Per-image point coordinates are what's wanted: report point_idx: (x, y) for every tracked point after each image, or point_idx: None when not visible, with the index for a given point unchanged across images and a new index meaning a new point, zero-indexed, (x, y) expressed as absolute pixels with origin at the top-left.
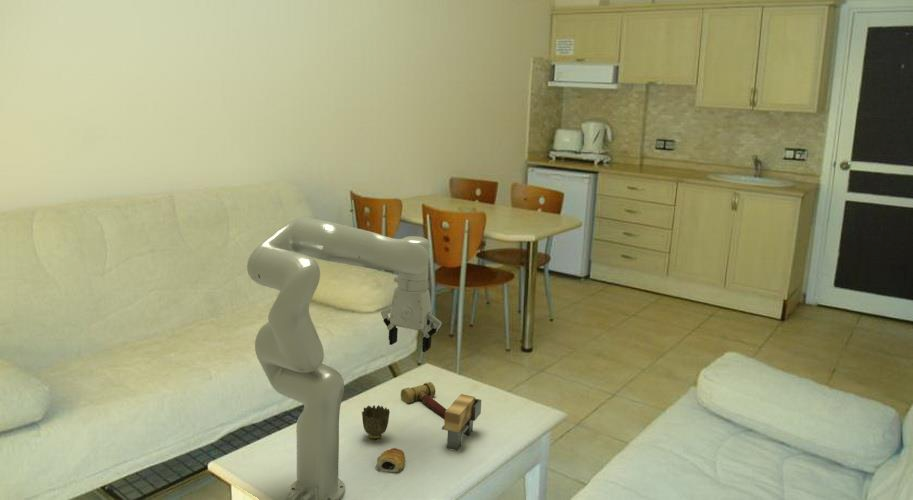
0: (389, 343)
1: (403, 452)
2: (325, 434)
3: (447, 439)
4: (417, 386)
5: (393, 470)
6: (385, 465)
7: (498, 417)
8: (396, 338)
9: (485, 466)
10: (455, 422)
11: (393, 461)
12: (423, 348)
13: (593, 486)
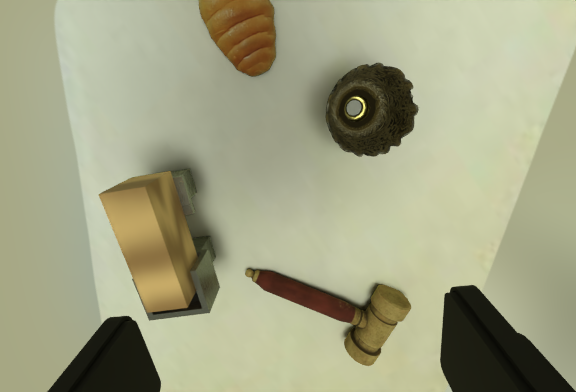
0: (476, 289)
1: (233, 62)
2: None
3: (181, 174)
4: (383, 337)
5: None
6: None
7: (190, 331)
8: (458, 389)
9: (79, 151)
10: (125, 184)
11: None
12: (99, 340)
13: None
